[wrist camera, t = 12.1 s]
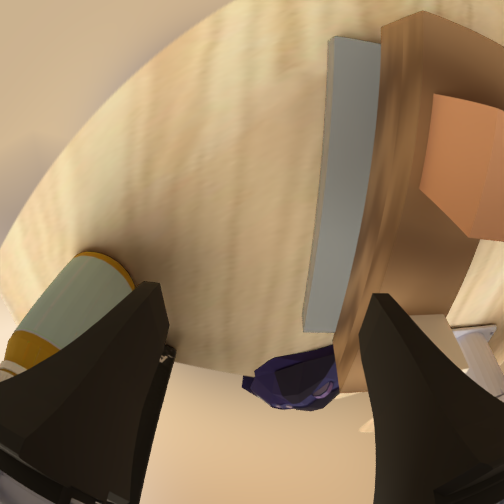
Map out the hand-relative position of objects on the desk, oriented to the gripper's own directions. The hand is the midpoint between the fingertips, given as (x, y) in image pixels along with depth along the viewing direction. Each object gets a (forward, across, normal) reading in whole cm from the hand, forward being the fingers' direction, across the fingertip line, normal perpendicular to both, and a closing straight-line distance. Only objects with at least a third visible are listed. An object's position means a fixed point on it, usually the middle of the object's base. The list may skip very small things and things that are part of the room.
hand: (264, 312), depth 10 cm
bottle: (+11, +14, +8) cm, 19 cm away
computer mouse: (+11, -4, +19) cm, 22 cm away
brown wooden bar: (+8, -8, 0) cm, 12 cm away
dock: (+10, -8, 0) cm, 13 cm away
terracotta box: (+3, -8, -6) cm, 10 cm away
